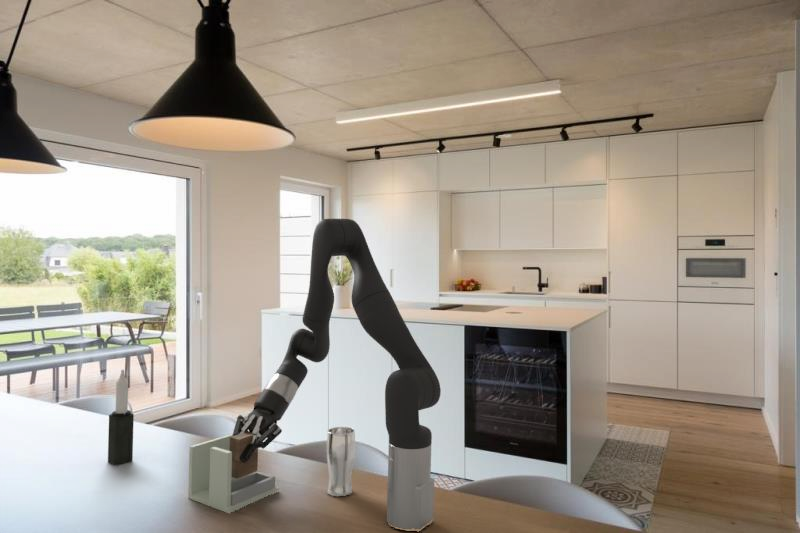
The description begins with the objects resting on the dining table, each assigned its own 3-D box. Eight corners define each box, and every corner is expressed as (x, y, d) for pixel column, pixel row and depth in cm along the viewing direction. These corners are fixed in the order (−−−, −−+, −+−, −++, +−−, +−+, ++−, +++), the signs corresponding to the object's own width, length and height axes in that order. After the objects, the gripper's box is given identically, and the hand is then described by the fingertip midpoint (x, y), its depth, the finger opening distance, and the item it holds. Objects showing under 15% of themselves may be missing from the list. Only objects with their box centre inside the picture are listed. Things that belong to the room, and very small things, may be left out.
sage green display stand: (278, 491, 137) (279, 437, 137) (229, 513, 125) (230, 454, 125) (238, 478, 145) (239, 427, 145) (188, 498, 132) (189, 442, 132)
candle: (115, 466, 151) (117, 372, 151) (106, 461, 154) (108, 369, 154) (134, 461, 155) (136, 369, 155) (124, 456, 158) (127, 367, 158)
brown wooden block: (257, 471, 135) (258, 433, 135) (237, 478, 130) (238, 439, 130) (248, 468, 136) (249, 430, 136) (228, 475, 131) (229, 437, 131)
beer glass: (327, 499, 134) (329, 435, 134) (323, 488, 140) (324, 427, 140) (356, 496, 135) (358, 433, 135) (351, 485, 142) (352, 425, 142)
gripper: (249, 384, 143) (207, 444, 133) (290, 392, 135) (249, 457, 125) (264, 401, 148) (225, 461, 137) (304, 410, 140) (266, 474, 130)
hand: (237, 458), depth 131 cm, fingers closed on brown wooden block, 3 cm apart
